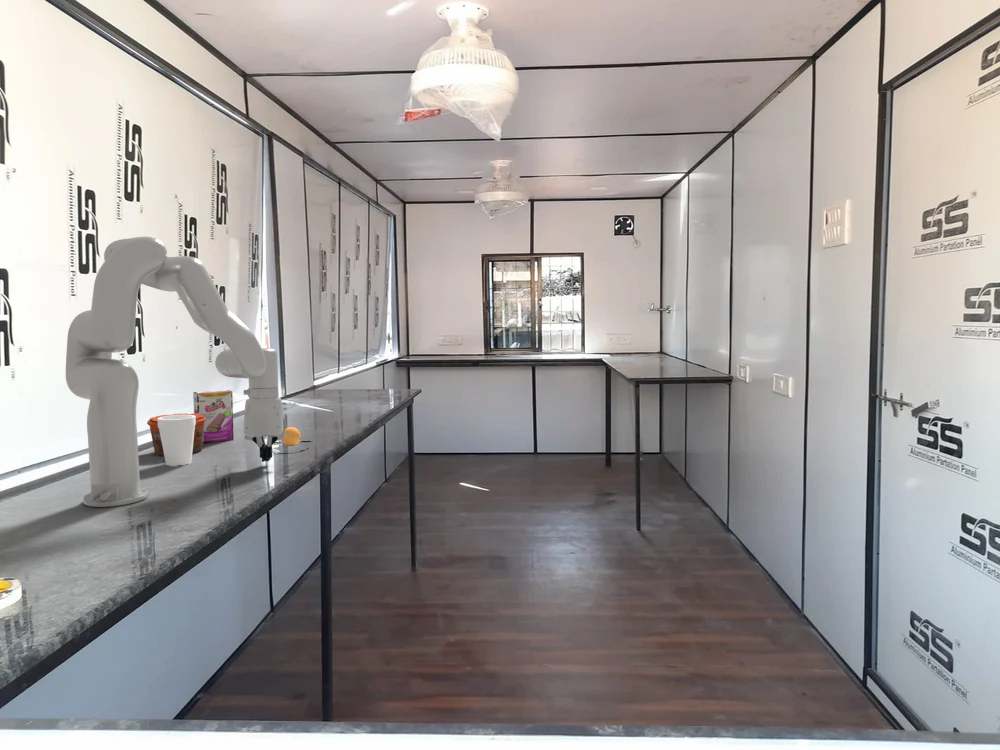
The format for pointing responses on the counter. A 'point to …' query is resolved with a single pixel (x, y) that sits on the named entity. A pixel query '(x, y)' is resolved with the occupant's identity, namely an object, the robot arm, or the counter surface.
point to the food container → (197, 433)
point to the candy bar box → (215, 414)
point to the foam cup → (177, 438)
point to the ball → (291, 436)
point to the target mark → (275, 449)
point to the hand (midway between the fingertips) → (266, 460)
